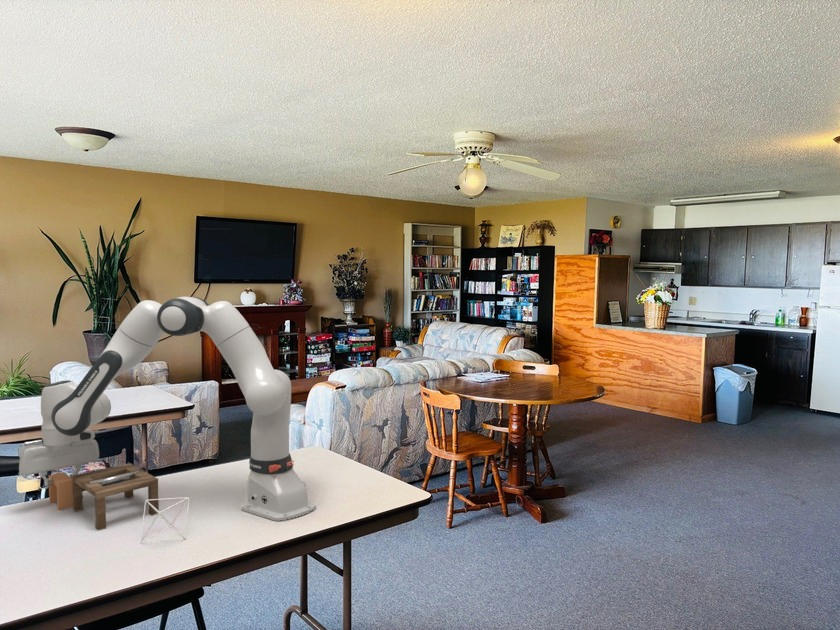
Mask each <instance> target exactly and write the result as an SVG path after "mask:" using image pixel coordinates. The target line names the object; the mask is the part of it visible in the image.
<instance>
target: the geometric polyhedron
mask: <svg viewBox="0 0 840 630" xmlns="http://www.w3.org/2000/svg"><path fill="white" fill-rule="evenodd" d="M178 499H181V500H180V501H178V502H177V503H174V504H172V505H170V506H168V507H166V508H165V509H163V510H160V511H158V510H157V509H156V508H155V507H154V506H153V505H151V504H150V503H149V502H148V499H145V501H144V509H143V517H142V524H141V532H140V541H139V542H140V544H148V543H151V544H152V541H147V540H149V539H151V538H153V537H155V536H156V535H158V534H160V533H162V532H163V531H165V530H167V529H169V528H172V530H173V531H175V532H176V533H177V534H178V535H179V536H180V537H181V539H170V540H169V539H168V540H158V541H157V540H155V541H153V543H160V542H161V543H162V542H164V543H165V542H175V541H177V542H178V541H185V540H186V539H187V530H188V519H189V509H190V508H189V505H190V497H189V496H188V497H187V496H184V497H183V496H182V497H172V498H171V497H169V498H168V497H166V498H165V497H164V498H158V499H149V500H159V501H160V500H161V501H162V500H163V501H164V500H178ZM184 501H185V502H184ZM182 502H184V504H183V505H182V507H181V509H180V510H179V512H178V513H177V515H176V517H175V518H174V520H173V521H172V523H171V522H170V521H169V520H168V518H166V516H164V515H163V514H162V512H165V511H166V510H168V509H170V508H173V507H174V506H176V505H179V504H180V503H182ZM147 504H148V506H149V505H150V506H151V507H152V508H153V509H154V508H155V509H156V510H157V511H158V512H159V513H158V512H157V511H156V510H155V509H154V510H155V511H156V512H157V513H158V514H156V517H155V518H154V520H153V522H152V523H151V525H150V527H149V528H148V529H147V531H146V533H145V534H144V535H143V532H144V531H143V529H144V522H145V513H146V506H147ZM186 504H187V512H186V523H185V533H184V536H183V535H182V534H181V532H179V530H177V529H176V528H175V526H174V522H176V520H177V518H178V516H179V514H180V513H181V512H182V510H183V508H184V507H185V506H186ZM159 516H160V518H161V519H163V521H164V522H166V524H167V525H168V527H166V528H164V529H163V530H161V531H158V532H157V533H156V534H153V535H151V536H150V537H148V538H146V539H145V537H146V536H147V534H148V532H149V531H150V530H151V528H152V526H153V525H154V524H155V522H156V520H157V518H158V517H159Z"/></svg>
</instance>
